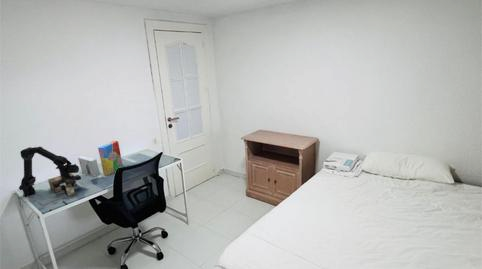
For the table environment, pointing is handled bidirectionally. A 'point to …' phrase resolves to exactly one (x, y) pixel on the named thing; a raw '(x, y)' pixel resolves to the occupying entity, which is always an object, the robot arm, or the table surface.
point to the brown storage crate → (56, 181)
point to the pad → (53, 199)
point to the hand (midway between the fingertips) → (69, 190)
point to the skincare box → (89, 165)
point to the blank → (69, 189)
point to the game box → (110, 157)
